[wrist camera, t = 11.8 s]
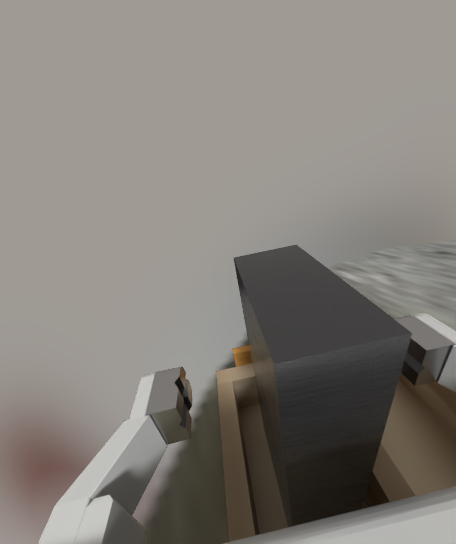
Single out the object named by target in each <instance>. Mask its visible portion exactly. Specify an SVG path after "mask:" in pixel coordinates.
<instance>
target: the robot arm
mask: <svg viewBox="0 0 456 544" xmlns="http://www.w3.org/2000/svg"><path fill="white" fill-rule="evenodd" d="M394 320H396V321H397V322H398V323H400V324H401V325H402V326H404V327H405V328H406V329H408V330H409V331H410V332H411V333H412V335H411V339H410V342H409V346H408V349H407V353H406V356H405V360H404V363H403V367H402V370H401V373H402V374H403V375H404V376H405V377H406V378H407V379H408V380H409V381H410V382H411V383H412V384H413V385H414V386H418V385H423V384H428V383H433V382H438V383H439V384H441V385H443V386H444V387H446V388H448V389H450V390H452V391H454V392H456V331H454V330H453V329H451V328H449V327H448V326H446V325H444V324H443V323H441V322H440V321H438V320H436V319H435V318H433V317H432V316H430V315H428V314H426V313H418V314H413V315H409V316H404V317H400V318H396V319H394ZM185 374H186V373H185V370H184V369H183V367H178V368H173V369H168V370H164V371H158V372H154V373H149V374H144V375H143V376H142V378H141V380H140V383H139V387H138V390H137V393H136V397H135V400H134V403H133V407H132V410H131V414H130V417H129V420H125V421H124V422H123V423H122V424H121V426H120V427H119V428H118V429H117V431H116V432H115V433H114V434H113V435H112V437H111V438H110V439H109V440H108V441H107V443H106V444H105V445H104V446H103V448H102V449H101V450H100V451H99V452H98V454H97V455H96V456H95V457H94V459H93V460H92V461H91V462H90V463H89V465H88V466H87V467H86V468H85V470H84V471H83V472H82V473H81V475H80V476H79V477H78V478H77V479H76V481H75V482H74V483H73V484H72V486H71V487H70V488H69V489H68V490H67V492H66V493H65V494H64V495H63V497H62V498H61V499H60V500H59V501H58V503H57V504H56V505H55V507H54V509H53V511H52V513H51V516H50V518H49V520H48V523H47V525H46V527H45V530H44V532H43V534H42V536H41V538H40V541H39V543H38V544H144V540H145V533H146V532H145V530H144V528H143V526H142V525H141V524H140V523H139V522H138V521H137V520H135V519H134V518H133V517H132V514H133V513H134V511H135V509H136V507H137V505H138V503H139V501H140V499H141V497H142V495H143V493H144V491H145V489H146V487H147V485H148V483H149V481H150V479H151V477H152V475H153V473H154V471H155V470H156V468H157V466H158V464H159V461H160V460H161V458H162V456H163V454H164V452H165V450H166V448H167V444H171V443H175V442H179V441H182V440H186V439H190V438H191V416H190V414H189V410H190V408H191V407H192V391H191V386H190V383H189V380H187V379H185ZM223 544H456V486H453V487H449V488H445V489H441V490H437V491H433V492H429V493H425V494H421V495H417V496H413V497H409V498H405V499H401V500H396V501H392V502H388V503H384V504H380V505H376V506H372V507H368V508H364V509H360V510H356V511H352V512H348V513H344V514H340V515H336V516H332V517H328V518H324V519H320V520H316V521H312V522H308V523H304V524H300V525H296V526H292V527H288V528H284V529H280V530H276V531H272V532H268V533H263V534H259V535H255V536H251V537H247V538H243V539H239V540H235V541H231V542H227V543H223Z"/></svg>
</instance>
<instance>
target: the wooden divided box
mask: <svg viewBox="0 0 456 544" xmlns="http://www.w3.org/2000/svg"><path fill="white" fill-rule="evenodd" d="M232 350H233V355H234V360H235V364H236V367H233V368H228V369H224V370H219V371H216V377H217V391H218V404H219V418H220V431H221V444H222V458H223V471H224V485H225V498H226V512H227V525H228V538H229V542H231V541H235V540H239V539H243V538H247V537H251V536H255V535H259V534H263V533H268V532H272V531H276V530H280V529H284V528H288V524H287V520H286V516H285V512H284V508H283V504H282V500H281V496H280V492H279V488H278V484H277V479H276V475H275V471H274V467H273V463H272V459H271V455H270V451H269V447H268V443H267V439H266V435H265V431H264V426H263V420H262V415H261V409H260V403H259V398H258V392H257V386H256V381H255V375H254V369H253V364H252V358H251V353H250V347H249V345H246V346H242V347H237V348H233V349H232ZM453 486H456V392H454V391H452V390H450V389H448V388H446V387H444V386H443V385H441V384H439V383H438V382H433V383H428V384H423V385H418V386H414V385H413V384H412V383H411V382H410V381H409V380H408V379H407V378H406V377H405V376H404V375H403V374H402V373H401V374H400V377H399V381H398V384H397V388H396V391H395V395H394V398H393V402H392V405H391V409H390V412H389V416H388V419H387V423H386V426H385V430H384V433H383V437H382V440H381V444H380V447H379V451H378V454H377V458H376V461H375V465H374V468H373V472H372V475H371V478H370V482H369V485H368V489H367V492H366V496H365V499H364V503H363V506H362V509H364V508H368V507H372V506H376V505H380V504H384V503H388V502H392V501H396V500H401V499H405V498H409V497H413V496H417V495H421V494H425V493H429V492H433V491H437V490H441V489H445V488H449V487H453Z"/></svg>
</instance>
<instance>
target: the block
mask: <svg viewBox="0 0 456 544" xmlns="http://www.w3.org/2000/svg"><path fill="white" fill-rule="evenodd" d="M234 262H235V267H236V274H237V279H238V285H239V291H240V296H241V302H242V307H243V313H244V319H245V324H246V329H247V336H248V341H249V347H250V353H251V358H252V364H253V369H254V375H255V381H256V386H257V392H258V398H259V403H260V409H261V415H262V420H263V426H264V431H265V435H266V439H267V443H268V447H269V451H270V455H271V459H272V463H273V467H274V471H275V475H276V479H277V484H278V488H279V492H280V496H281V500H282V504H283V508H284V512H285V516H286V520H287V524H288V527H292V526H296V525H300V524H304V523H308V522H312V521H316V520H320V519H324V518H328V517H332V516H336V515H340V514H344V513H348V512H352V511H356V510H360V509H362V506H363V503H364V499H365V496H366V492H367V489H368V485H369V482H370V478H371V475H372V472H373V468H374V465H375V461H376V458H377V454H378V451H379V447H380V444H381V440H382V437H383V433H384V430H385V426H386V423H387V419H388V416H389V412H390V409H391V405H392V402H393V398H394V395H395V391H396V388H397V384H398V381H399V377H400V374H401V370H402V367H403V363H404V360H405V356H406V353H407V349H408V346H409V342H410V339H411V335H412V333H411V332H410V331H409V330H408V329H406V328H405V327H404V326H402V325H401V324H400V323H398V322H397V321H396V320H394V319H393V318H392V317H391V316H389V315H388V314H387V313H385V312H384V311H383V310H381V309H380V308H379V307H377V306H376V305H375V304H373V303H372V302H371V301H370V300H368V299H367V298H366V297H364V296H363V295H362V294H360V293H359V292H358V291H356V290H355V289H354V288H352V287H351V286H350V285H349V284H347V283H346V282H345V281H343V280H342V279H341V278H339V277H338V276H337V275H335V274H334V273H333V272H331V271H330V270H329V269H328V268H326V267H325V266H323V265H322V264H321V263H320V262H318V261H317V260H315V259H314V258H313V257H312V256H310V255H309V254H308V253H306V252H305V251H304V250H303V249H301V248H300V247H298V246H297V245H293V246H288V247H283V248H278V249H274V250H269V251H264V252H259V253H255V254H250V255H245V256H240V257H236V258H234Z"/></svg>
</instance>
